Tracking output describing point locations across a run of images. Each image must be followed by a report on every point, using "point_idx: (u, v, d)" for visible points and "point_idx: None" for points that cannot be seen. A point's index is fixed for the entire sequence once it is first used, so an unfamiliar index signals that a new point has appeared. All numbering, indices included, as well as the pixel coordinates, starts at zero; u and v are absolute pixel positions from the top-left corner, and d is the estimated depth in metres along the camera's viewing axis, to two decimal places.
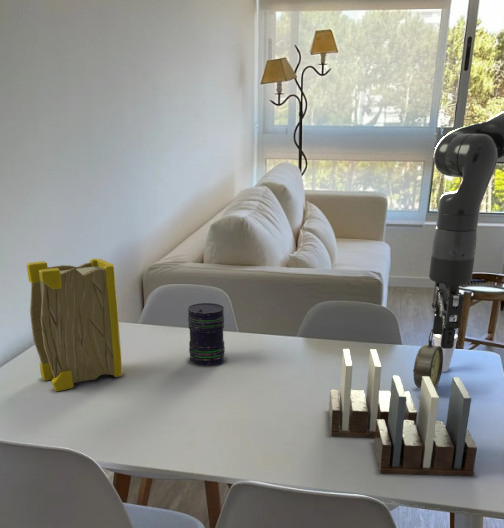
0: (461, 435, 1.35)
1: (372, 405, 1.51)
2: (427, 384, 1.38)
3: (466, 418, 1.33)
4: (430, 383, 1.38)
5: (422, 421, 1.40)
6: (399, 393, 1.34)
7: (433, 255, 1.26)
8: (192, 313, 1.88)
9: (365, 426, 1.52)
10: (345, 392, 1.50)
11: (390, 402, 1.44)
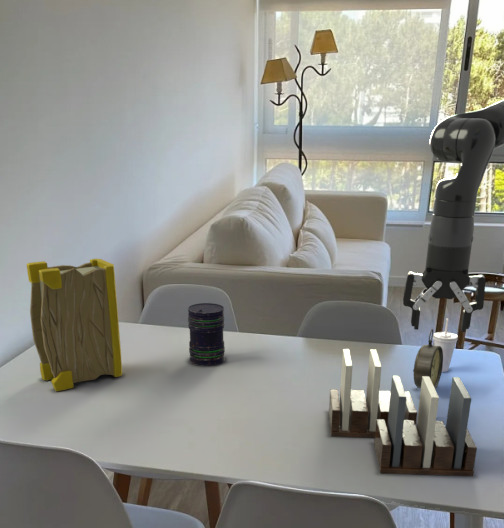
0: (461, 435, 1.35)
1: (372, 405, 1.51)
2: (427, 384, 1.38)
3: (466, 418, 1.33)
4: (430, 383, 1.38)
5: (422, 421, 1.40)
6: (399, 393, 1.34)
7: (456, 246, 1.22)
8: (192, 313, 1.88)
9: (365, 426, 1.52)
10: (345, 392, 1.50)
11: (390, 402, 1.44)
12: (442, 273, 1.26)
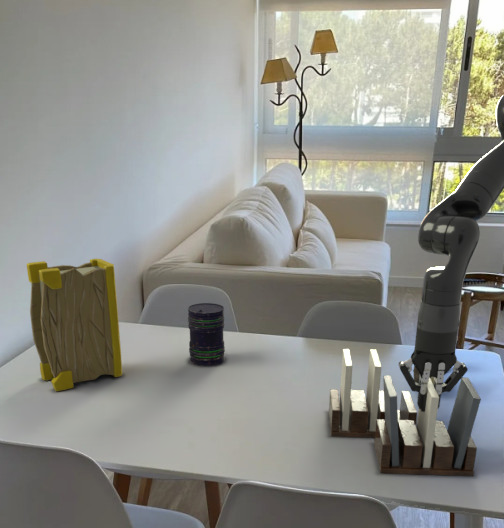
0: (466, 435, 1.35)
1: (372, 405, 1.51)
2: None
3: (473, 418, 1.33)
4: (430, 383, 1.38)
5: (422, 421, 1.40)
6: (389, 393, 1.34)
7: (446, 331, 1.28)
8: (192, 313, 1.88)
9: (365, 426, 1.52)
10: (345, 392, 1.50)
11: (384, 402, 1.44)
12: (431, 354, 1.33)
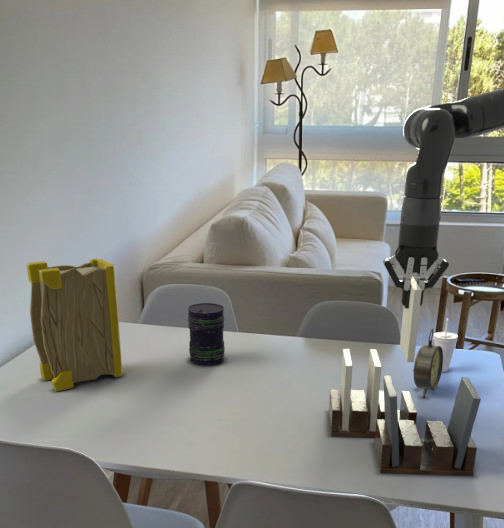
0: (466, 435, 1.35)
1: (372, 405, 1.51)
2: (411, 282, 1.44)
3: (473, 418, 1.33)
4: (414, 281, 1.45)
5: (406, 319, 1.47)
6: (389, 393, 1.34)
7: (427, 224, 1.35)
8: (192, 313, 1.88)
9: (365, 426, 1.52)
10: (345, 392, 1.50)
11: (384, 402, 1.44)
12: (414, 250, 1.39)
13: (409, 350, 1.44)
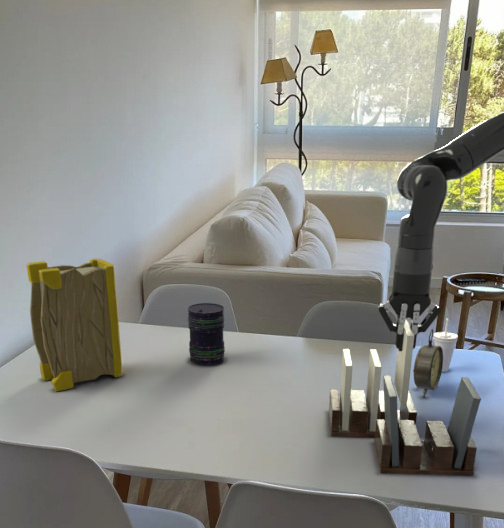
0: (466, 435, 1.35)
1: (372, 405, 1.51)
2: (404, 325, 1.49)
3: (473, 418, 1.33)
4: (407, 325, 1.50)
5: (400, 360, 1.52)
6: (389, 393, 1.34)
7: (420, 273, 1.40)
8: (192, 313, 1.88)
9: (365, 426, 1.52)
10: (345, 392, 1.50)
11: (384, 402, 1.44)
12: (407, 296, 1.45)
13: (402, 392, 1.49)
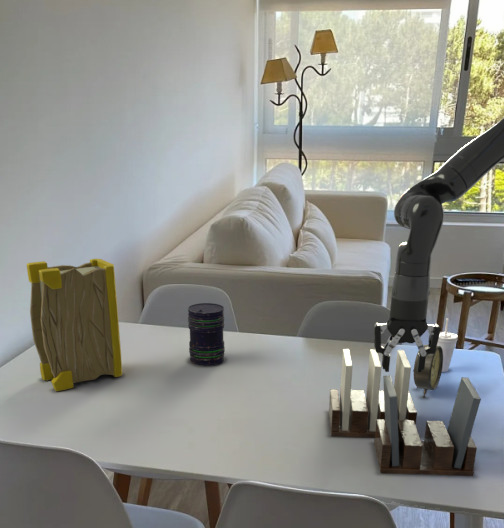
0: (466, 435, 1.35)
1: (372, 405, 1.51)
2: (401, 356, 1.52)
3: (473, 418, 1.33)
4: (404, 355, 1.53)
5: (397, 390, 1.55)
6: (389, 393, 1.34)
7: (417, 300, 1.42)
8: (192, 313, 1.88)
9: (365, 426, 1.52)
10: (345, 392, 1.50)
11: (384, 402, 1.44)
12: (404, 322, 1.47)
13: None
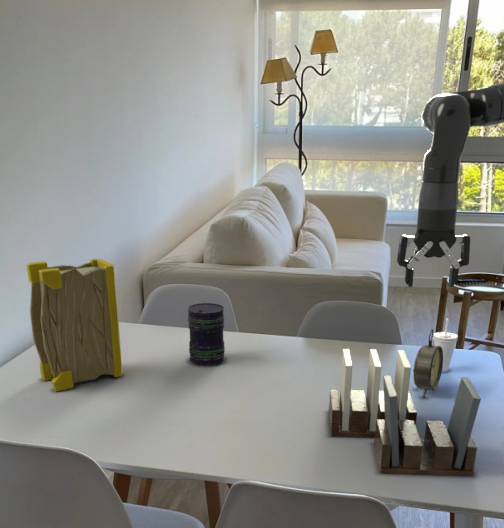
0: (466, 435, 1.35)
1: (372, 405, 1.51)
2: (401, 356, 1.52)
3: (473, 418, 1.33)
4: (404, 355, 1.53)
5: (397, 390, 1.55)
6: (389, 393, 1.34)
7: (446, 208, 1.37)
8: (192, 313, 1.88)
9: (365, 426, 1.52)
10: (345, 392, 1.50)
11: (384, 402, 1.44)
12: (432, 234, 1.42)
13: None
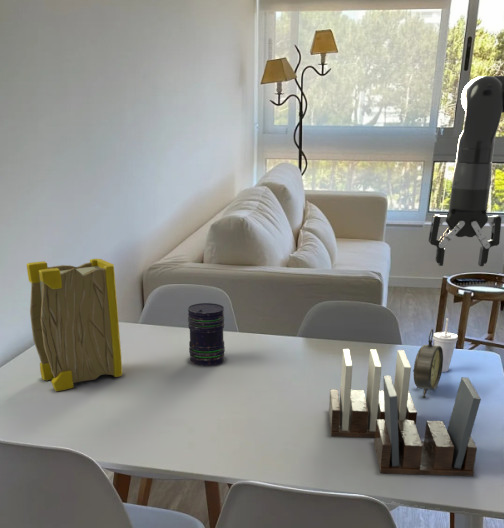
0: (466, 435, 1.35)
1: (372, 405, 1.51)
2: (401, 356, 1.52)
3: (473, 418, 1.33)
4: (404, 355, 1.53)
5: (397, 390, 1.55)
6: (389, 393, 1.34)
7: (479, 188, 1.41)
8: (192, 313, 1.88)
9: (365, 426, 1.52)
10: (345, 392, 1.50)
11: (384, 402, 1.44)
12: (464, 214, 1.45)
13: None
